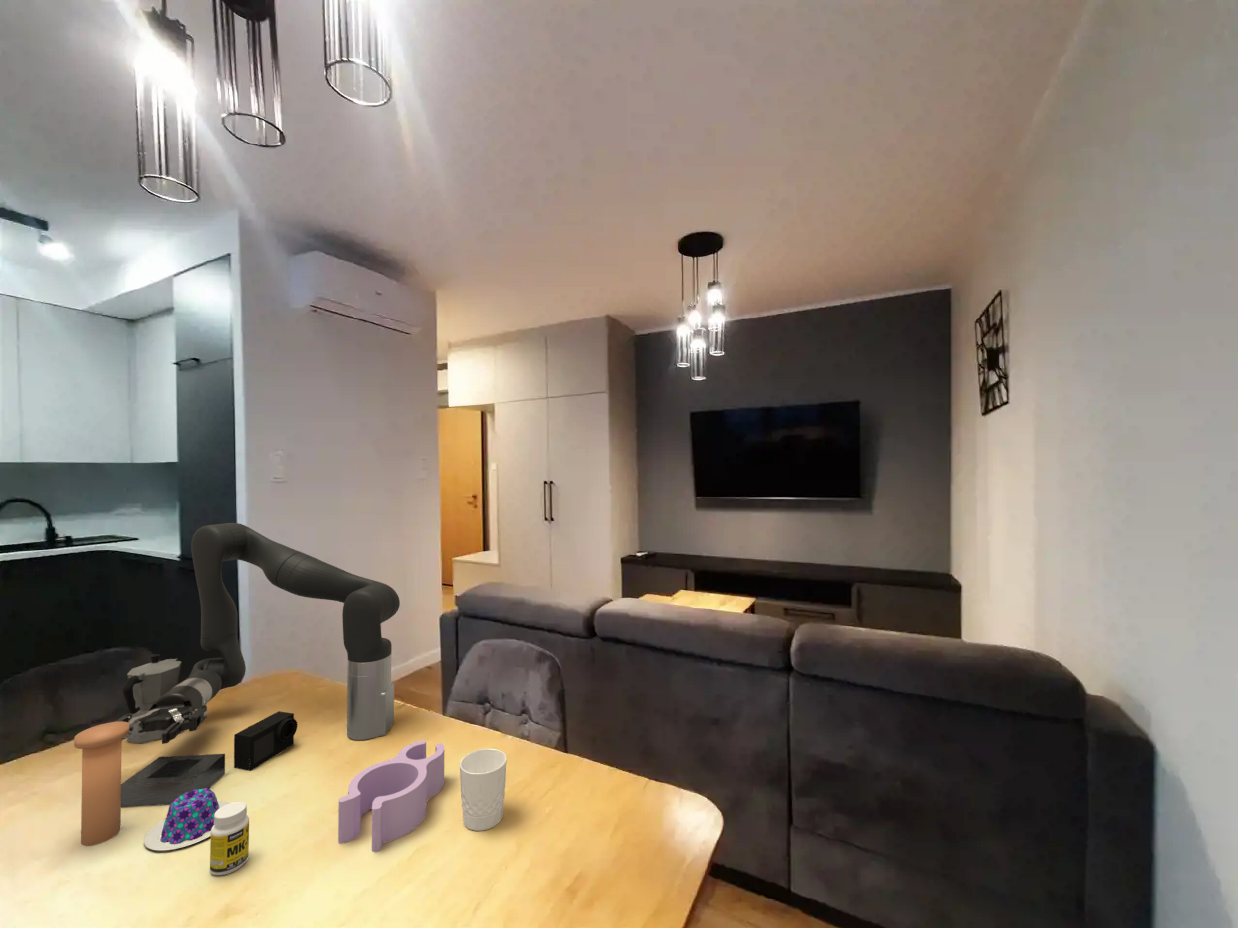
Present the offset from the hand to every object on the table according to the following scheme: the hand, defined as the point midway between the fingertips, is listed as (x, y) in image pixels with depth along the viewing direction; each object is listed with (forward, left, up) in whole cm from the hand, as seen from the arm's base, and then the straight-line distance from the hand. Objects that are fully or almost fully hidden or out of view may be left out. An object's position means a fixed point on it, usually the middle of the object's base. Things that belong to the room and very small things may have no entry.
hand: (135, 741), depth 94 cm
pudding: (-15, +8, -11) cm, 20 cm away
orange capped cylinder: (-1, +9, -11) cm, 14 cm away
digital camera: (-15, -14, -11) cm, 23 cm away
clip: (-48, +6, -11) cm, 50 cm away
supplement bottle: (-26, +17, -11) cm, 33 cm away
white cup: (-63, +10, -11) cm, 65 cm away
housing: (-4, -3, -11) cm, 12 cm away
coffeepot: (+16, -25, -11) cm, 31 cm away
